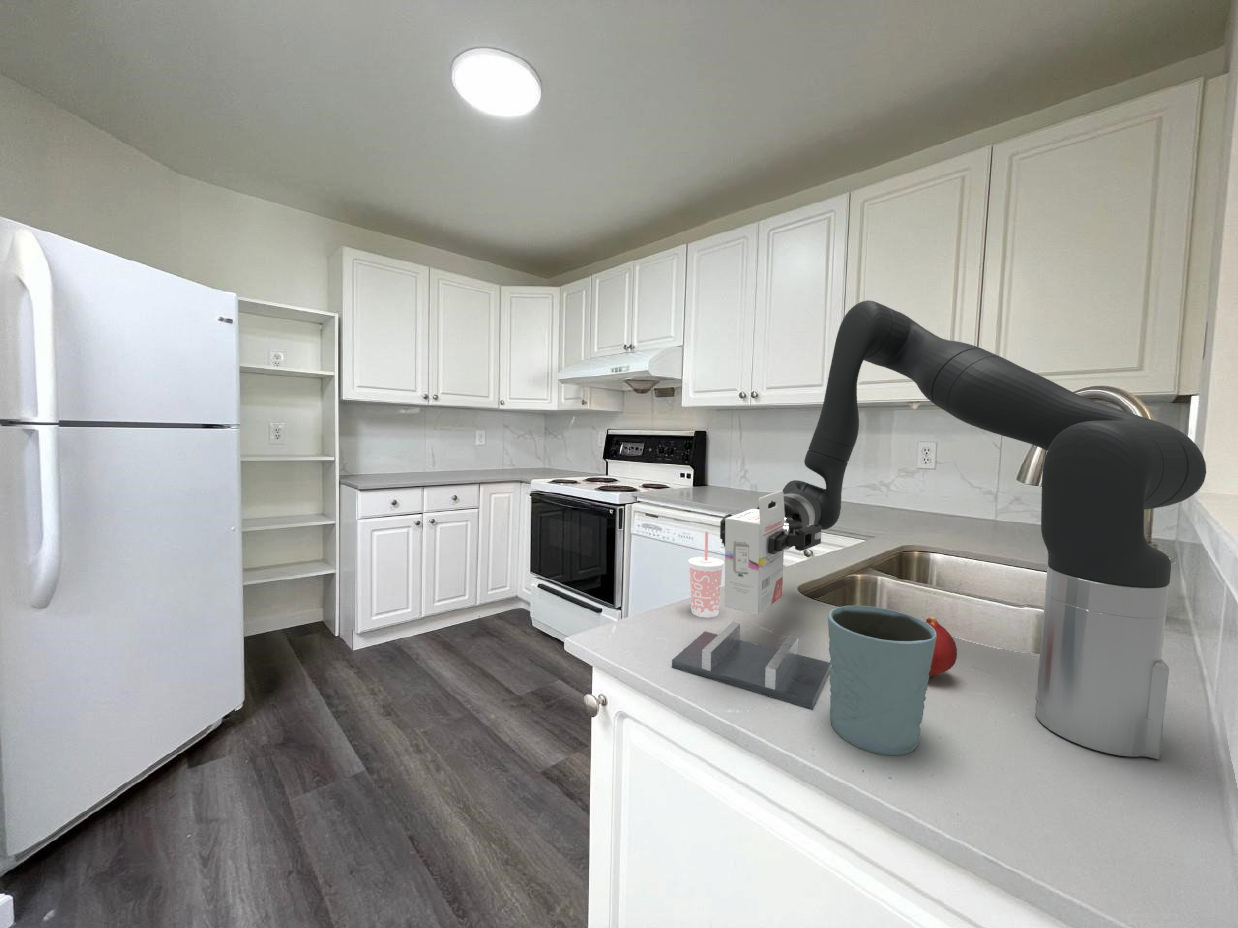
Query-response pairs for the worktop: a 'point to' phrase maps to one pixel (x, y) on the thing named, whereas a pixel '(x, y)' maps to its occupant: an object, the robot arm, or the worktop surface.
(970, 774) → the worktop surface
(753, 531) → the ink cartridge box
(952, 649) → the onion
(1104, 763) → the worktop surface
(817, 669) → the rail channel
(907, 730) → the teal ceramic vase
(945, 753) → the worktop surface
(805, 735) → the worktop surface
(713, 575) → the beverage cup
